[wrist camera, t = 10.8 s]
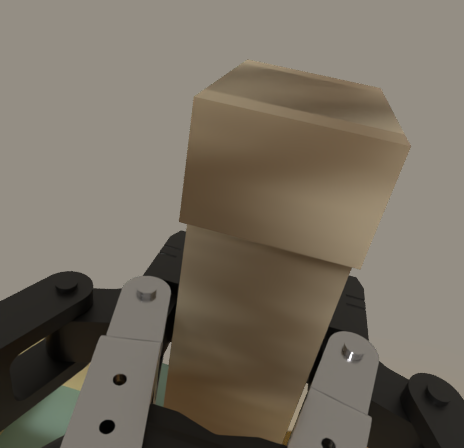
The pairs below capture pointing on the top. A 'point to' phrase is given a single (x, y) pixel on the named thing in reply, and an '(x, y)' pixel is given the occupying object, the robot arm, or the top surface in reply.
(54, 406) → the tool chest
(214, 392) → the wooden key
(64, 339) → the robot arm
